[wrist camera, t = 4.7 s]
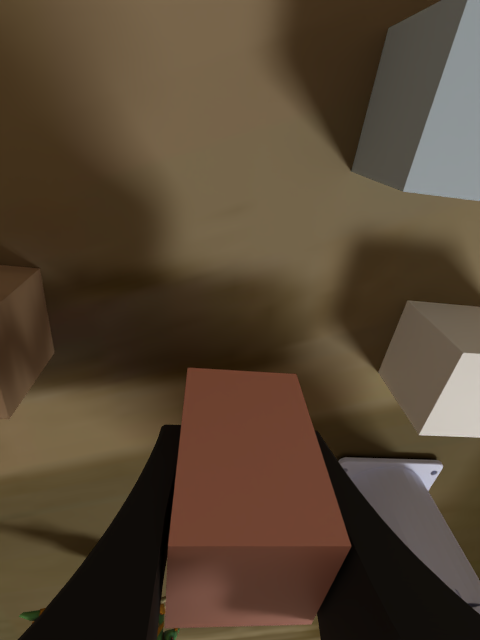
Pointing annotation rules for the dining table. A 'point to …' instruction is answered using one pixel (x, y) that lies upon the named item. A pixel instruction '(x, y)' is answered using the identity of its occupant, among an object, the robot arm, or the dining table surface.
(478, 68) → the blue-grey block
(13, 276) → the walnut block
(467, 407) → the pale grey block
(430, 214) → the dining table surface
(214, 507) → the brick-red block
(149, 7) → the dining table surface
